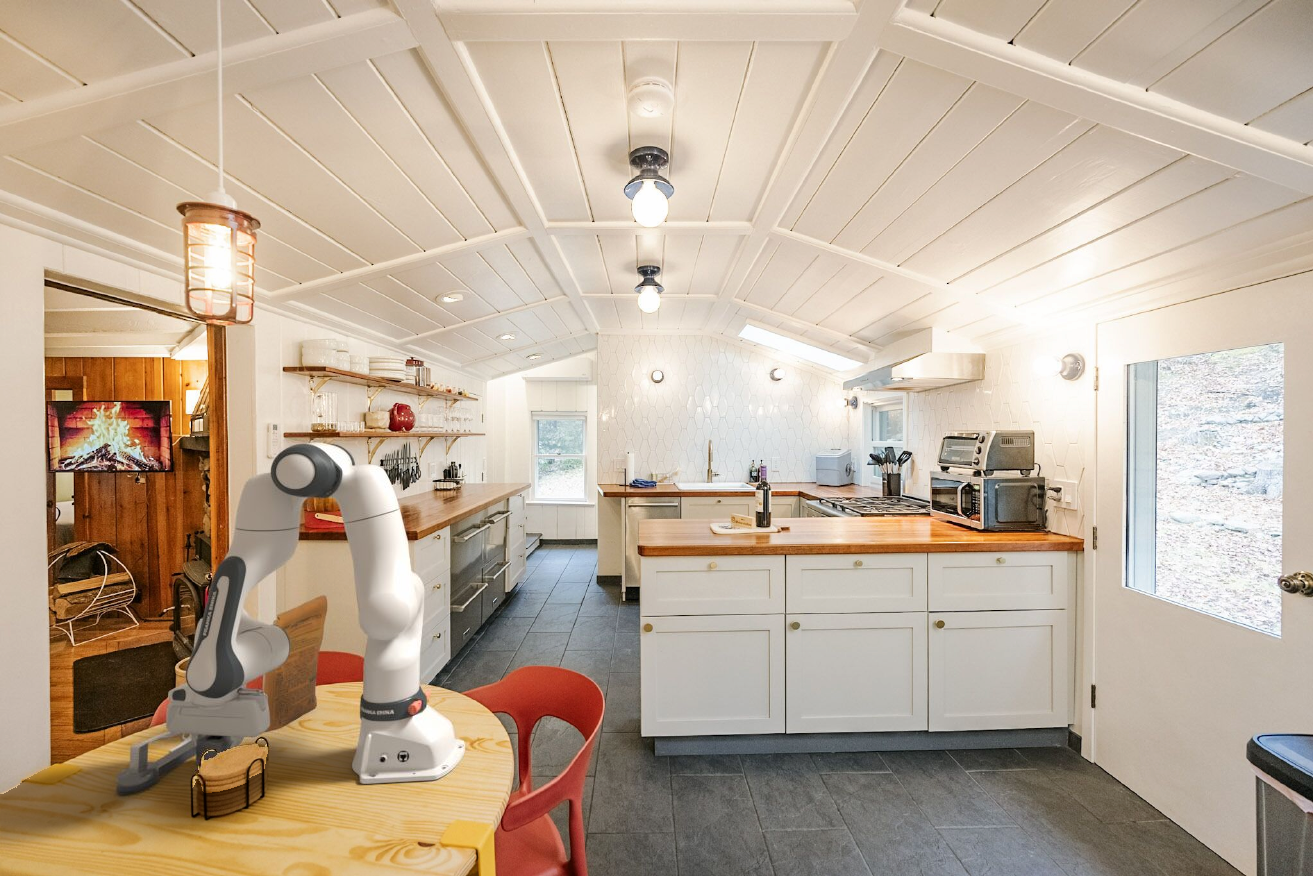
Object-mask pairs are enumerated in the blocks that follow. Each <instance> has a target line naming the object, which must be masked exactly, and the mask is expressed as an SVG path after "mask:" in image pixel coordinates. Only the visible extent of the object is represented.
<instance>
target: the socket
mask: <svg viewBox="0 0 1313 876" xmlns="http://www.w3.org/2000/svg"><path fill="white" fill-rule="evenodd" d="M232 743H233V741H231V736H216V735H206V736H205V737H203V738H201V739H199V740H198V741H197V746H196V755H195V771H196V772H199V771H198V766H199V762H200V758H201V755H202V753H204V751H206V750H207V749H216V750H217V752H216V751H208V753H206V754H205V755H204V760H208V759H209V758H213V757H215V756H216V755H217V753H220V752H223V751H226V748H228V747H230V746H231V745H232Z"/></svg>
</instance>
